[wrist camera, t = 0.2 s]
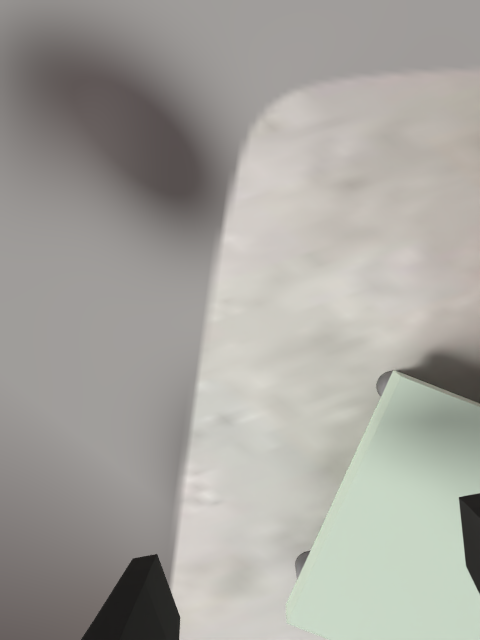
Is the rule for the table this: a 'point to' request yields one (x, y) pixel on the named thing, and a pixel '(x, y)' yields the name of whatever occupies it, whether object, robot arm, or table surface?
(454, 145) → the table surface
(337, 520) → the stand
